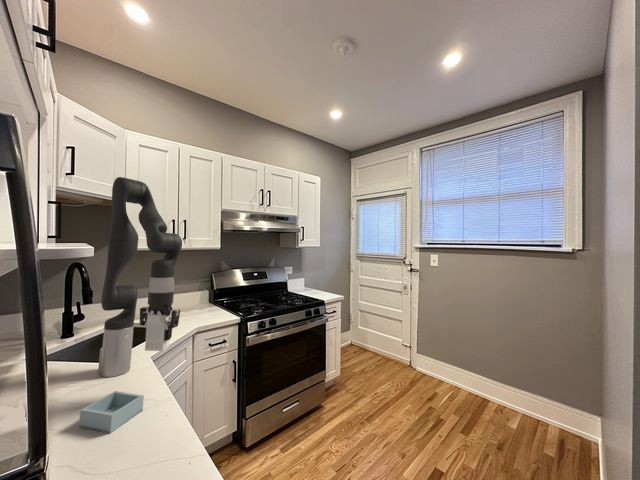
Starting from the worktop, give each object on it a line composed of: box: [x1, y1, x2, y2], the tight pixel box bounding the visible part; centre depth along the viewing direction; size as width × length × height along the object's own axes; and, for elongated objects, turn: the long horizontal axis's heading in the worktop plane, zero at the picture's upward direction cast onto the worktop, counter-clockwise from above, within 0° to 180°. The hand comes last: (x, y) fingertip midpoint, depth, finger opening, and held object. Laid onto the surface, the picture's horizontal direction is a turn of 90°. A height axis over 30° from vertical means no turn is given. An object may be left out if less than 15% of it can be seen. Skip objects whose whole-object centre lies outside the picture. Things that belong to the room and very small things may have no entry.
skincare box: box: [144, 314, 171, 352], centre depth 90 cm, size 6×4×12 cm
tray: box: [78, 390, 144, 434], centre depth 74 cm, size 10×10×4 cm
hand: (157, 339), depth 89 cm, fingers closed on skincare box, 6 cm apart
